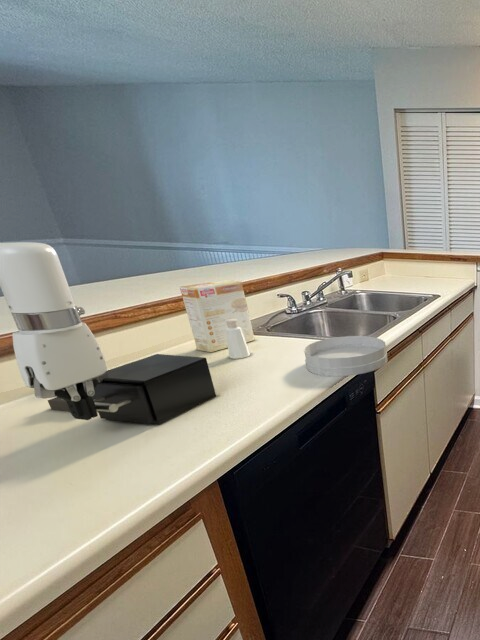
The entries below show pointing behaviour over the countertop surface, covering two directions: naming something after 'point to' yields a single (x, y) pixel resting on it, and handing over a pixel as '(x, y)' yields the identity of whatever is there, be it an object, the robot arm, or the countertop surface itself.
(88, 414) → the robot arm
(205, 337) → the coffeecake box
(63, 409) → the control block
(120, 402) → the drawer
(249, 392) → the countertop surface
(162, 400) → the cabinet
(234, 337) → the salt shaker
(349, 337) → the dish
